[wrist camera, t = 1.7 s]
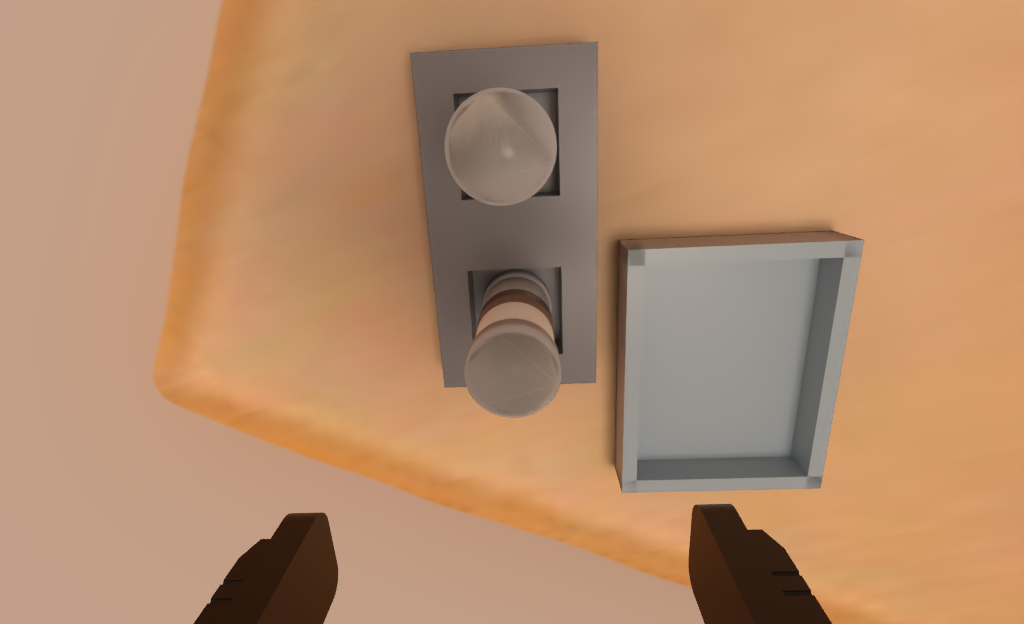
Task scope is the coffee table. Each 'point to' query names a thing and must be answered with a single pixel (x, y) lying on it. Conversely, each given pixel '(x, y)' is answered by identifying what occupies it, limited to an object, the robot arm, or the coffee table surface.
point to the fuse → (500, 146)
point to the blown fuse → (514, 347)
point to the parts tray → (730, 359)
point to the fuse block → (525, 225)
